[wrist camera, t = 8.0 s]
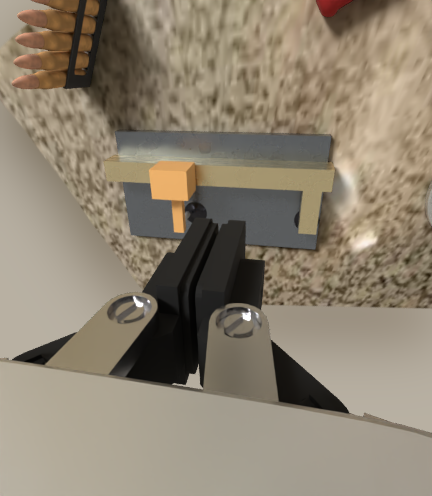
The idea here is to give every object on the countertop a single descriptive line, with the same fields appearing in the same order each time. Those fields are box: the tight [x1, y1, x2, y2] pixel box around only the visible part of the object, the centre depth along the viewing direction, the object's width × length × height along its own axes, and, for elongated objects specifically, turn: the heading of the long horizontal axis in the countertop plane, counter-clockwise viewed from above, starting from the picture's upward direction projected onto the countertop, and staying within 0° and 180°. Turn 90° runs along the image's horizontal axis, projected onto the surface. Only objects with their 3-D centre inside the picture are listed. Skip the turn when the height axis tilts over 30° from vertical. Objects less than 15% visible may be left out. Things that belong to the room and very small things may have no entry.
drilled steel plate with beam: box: [104, 130, 335, 249], centre depth 42 cm, size 26×14×4 cm, turn 91°
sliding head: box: [149, 161, 196, 233], centre depth 40 cm, size 4×8×6 cm, turn 1°
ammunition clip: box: [12, 0, 107, 89], centre depth 33 cm, size 11×2×12 cm, turn 156°
